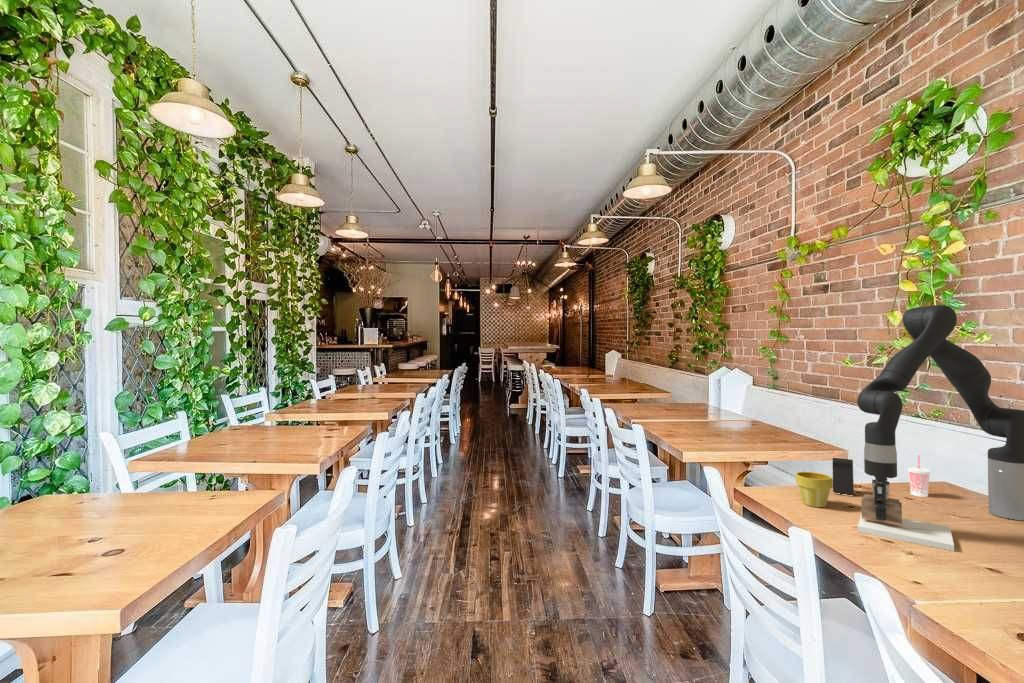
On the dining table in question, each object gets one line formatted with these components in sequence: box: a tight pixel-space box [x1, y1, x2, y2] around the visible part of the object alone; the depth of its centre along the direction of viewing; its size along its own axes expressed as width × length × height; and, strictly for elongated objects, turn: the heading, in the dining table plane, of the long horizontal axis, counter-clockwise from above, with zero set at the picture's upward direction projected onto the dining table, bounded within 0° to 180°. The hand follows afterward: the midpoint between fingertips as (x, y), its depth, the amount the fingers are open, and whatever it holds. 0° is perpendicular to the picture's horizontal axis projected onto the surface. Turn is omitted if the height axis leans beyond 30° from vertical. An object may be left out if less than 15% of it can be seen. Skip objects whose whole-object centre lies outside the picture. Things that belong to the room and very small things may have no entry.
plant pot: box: [795, 471, 833, 508], centre depth 155 cm, size 10×10×10 cm
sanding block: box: [860, 493, 903, 526], centre depth 135 cm, size 9×6×6 cm, turn 49°
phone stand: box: [832, 457, 855, 496], centre depth 168 cm, size 9×6×12 cm, turn 146°
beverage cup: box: [907, 455, 931, 498], centre depth 164 cm, size 6×6×14 cm
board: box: [857, 511, 955, 552], centre depth 132 cm, size 20×16×2 cm
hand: (881, 516), depth 135 cm, fingers closed on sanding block, 5 cm apart
